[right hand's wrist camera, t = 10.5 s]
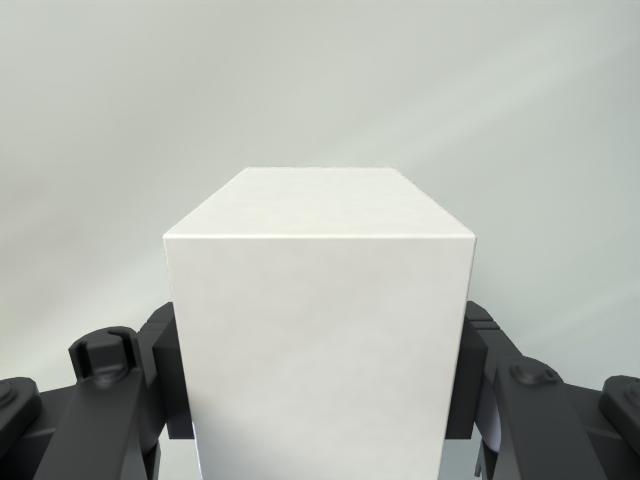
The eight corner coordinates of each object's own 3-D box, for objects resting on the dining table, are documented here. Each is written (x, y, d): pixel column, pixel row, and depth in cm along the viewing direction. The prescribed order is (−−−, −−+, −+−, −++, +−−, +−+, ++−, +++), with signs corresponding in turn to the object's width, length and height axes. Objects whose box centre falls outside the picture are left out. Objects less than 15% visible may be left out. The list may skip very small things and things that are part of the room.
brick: (257, 341, 17) (207, 528, 10) (245, 167, 14) (160, 234, 7) (381, 341, 17) (432, 528, 10) (394, 166, 14) (479, 235, 7)
